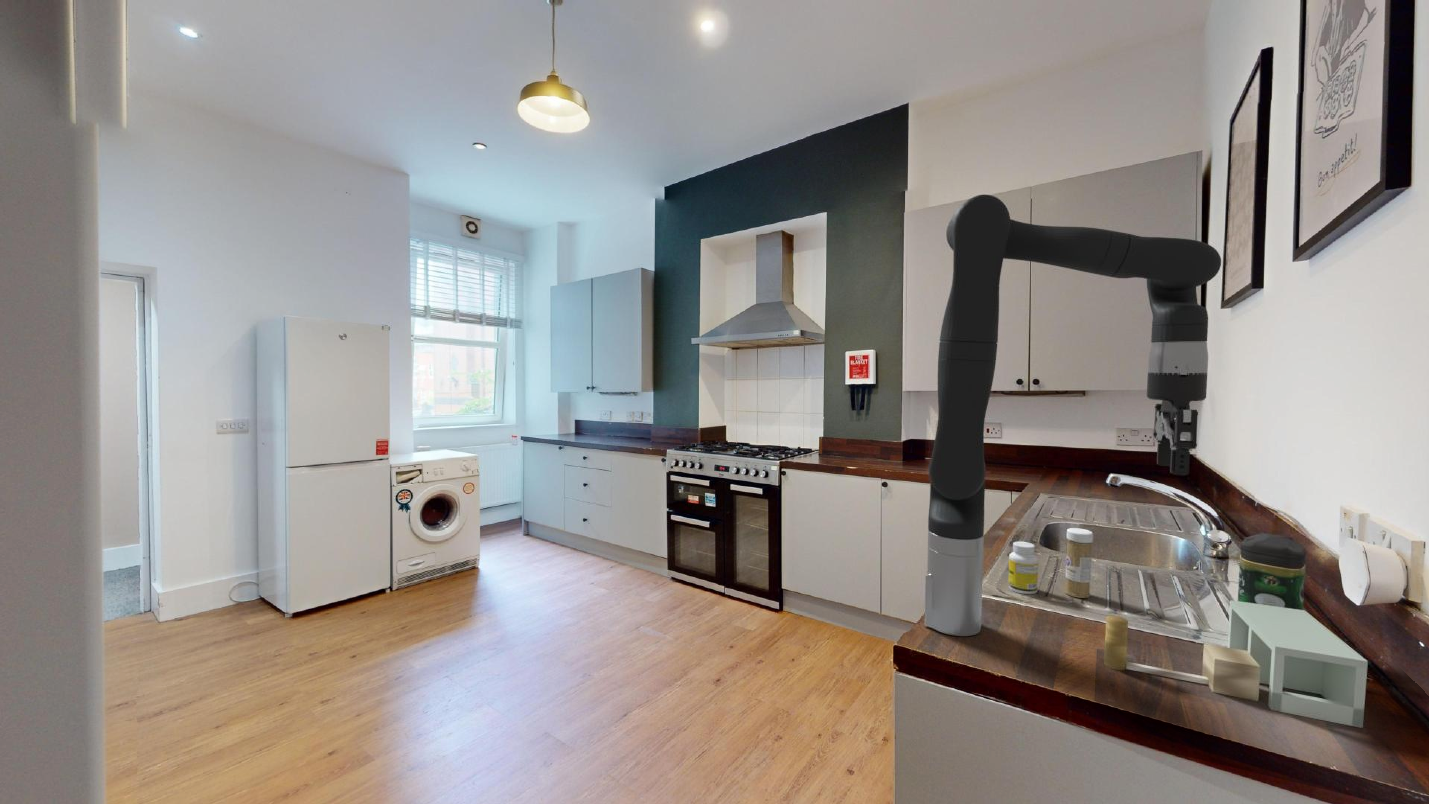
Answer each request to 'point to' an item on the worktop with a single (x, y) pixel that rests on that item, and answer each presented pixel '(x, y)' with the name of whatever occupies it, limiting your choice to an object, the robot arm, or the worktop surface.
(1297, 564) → the coffee jar
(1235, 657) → the block
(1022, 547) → the supplement bottle
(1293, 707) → the shelf cubby
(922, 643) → the worktop surface
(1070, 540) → the spice jar
